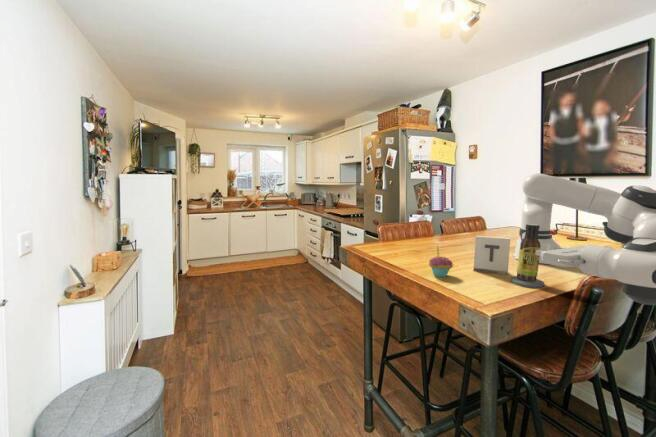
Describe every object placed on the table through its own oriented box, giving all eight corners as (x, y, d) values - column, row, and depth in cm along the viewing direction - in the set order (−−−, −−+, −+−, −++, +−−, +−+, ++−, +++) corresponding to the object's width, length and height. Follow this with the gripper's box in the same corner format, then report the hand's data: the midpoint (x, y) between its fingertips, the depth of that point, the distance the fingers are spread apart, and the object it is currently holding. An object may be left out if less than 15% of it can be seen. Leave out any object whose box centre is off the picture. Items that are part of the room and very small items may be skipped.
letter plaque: (473, 271, 128) (475, 236, 126) (473, 268, 132) (475, 234, 130) (507, 275, 123) (510, 239, 121) (506, 272, 127) (509, 237, 125)
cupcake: (439, 279, 117) (440, 247, 115) (423, 273, 125) (424, 243, 123) (456, 276, 120) (458, 245, 119) (440, 270, 128) (442, 241, 127)
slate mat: (523, 277, 120) (523, 274, 120) (550, 285, 111) (550, 283, 110) (504, 280, 116) (504, 277, 116) (530, 289, 107) (531, 286, 107)
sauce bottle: (520, 281, 112) (525, 225, 109) (513, 276, 118) (517, 222, 115) (541, 282, 111) (546, 225, 108) (532, 277, 117) (537, 223, 114)
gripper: (570, 274, 90) (524, 263, 103) (613, 266, 98) (565, 257, 111) (572, 252, 89) (525, 244, 102) (615, 246, 97) (566, 239, 110)
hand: (546, 250), depth 106 cm, fingers open, 8 cm apart
